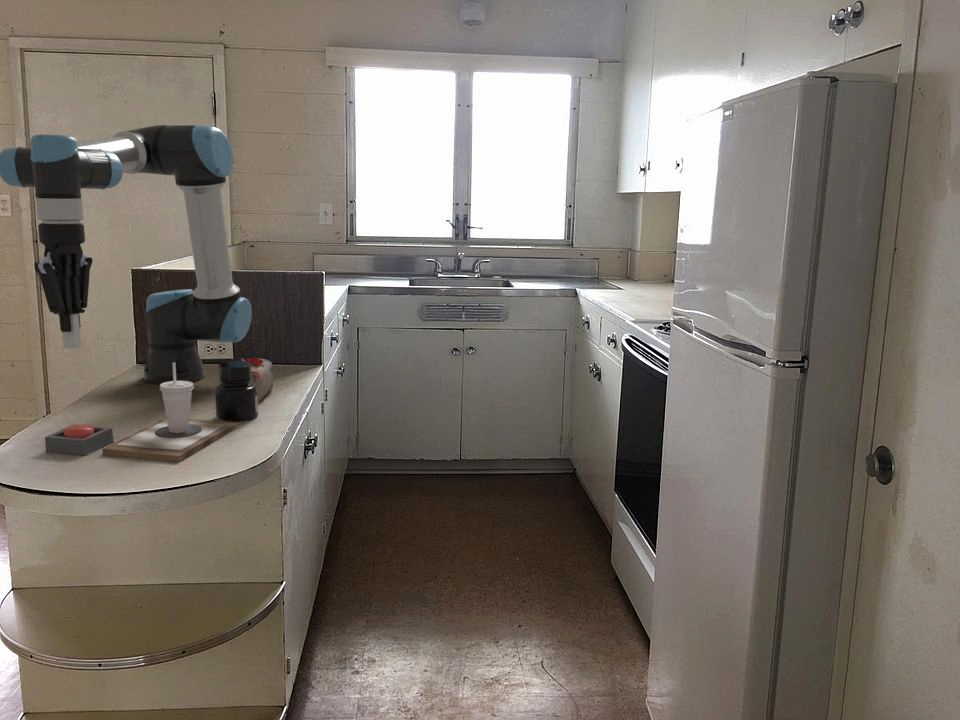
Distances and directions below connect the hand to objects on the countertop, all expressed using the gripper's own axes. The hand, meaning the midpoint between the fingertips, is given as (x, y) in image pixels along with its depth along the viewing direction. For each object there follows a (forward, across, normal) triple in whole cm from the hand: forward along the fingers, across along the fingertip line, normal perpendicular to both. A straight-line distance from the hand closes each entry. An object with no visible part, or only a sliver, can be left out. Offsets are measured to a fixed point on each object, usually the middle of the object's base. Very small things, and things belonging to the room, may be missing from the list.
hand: (72, 347), depth 151 cm
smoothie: (+19, -10, +15) cm, 26 cm away
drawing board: (+20, -8, +15) cm, 26 cm away
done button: (+18, 0, 0) cm, 18 cm away
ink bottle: (+20, -27, +19) cm, 38 cm away
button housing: (+20, 0, 0) cm, 20 cm away
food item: (+20, -43, +14) cm, 50 cm away
